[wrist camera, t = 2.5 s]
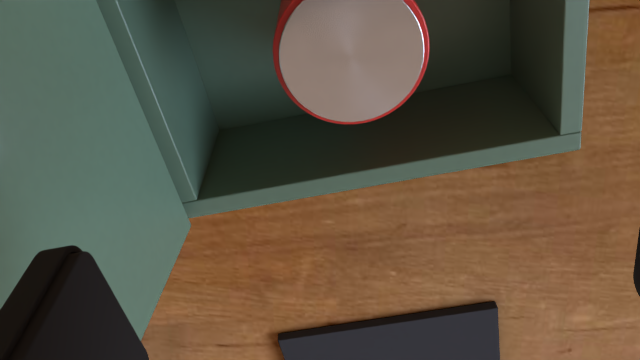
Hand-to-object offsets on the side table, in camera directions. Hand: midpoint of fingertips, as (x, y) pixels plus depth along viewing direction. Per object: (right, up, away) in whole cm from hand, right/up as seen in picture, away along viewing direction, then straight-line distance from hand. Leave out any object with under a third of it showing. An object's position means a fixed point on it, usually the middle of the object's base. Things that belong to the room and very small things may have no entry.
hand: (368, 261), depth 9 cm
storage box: (0, +10, +15) cm, 17 cm away
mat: (+4, -12, +29) cm, 31 cm away
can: (0, +9, +14) cm, 17 cm away
